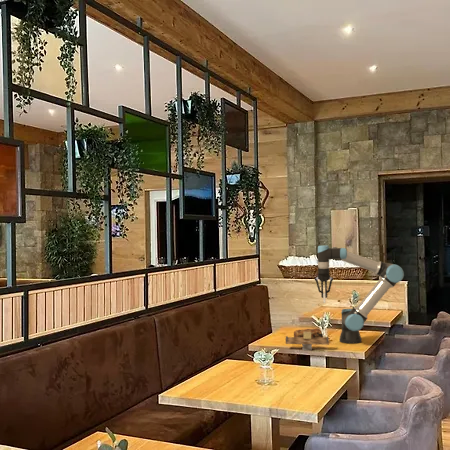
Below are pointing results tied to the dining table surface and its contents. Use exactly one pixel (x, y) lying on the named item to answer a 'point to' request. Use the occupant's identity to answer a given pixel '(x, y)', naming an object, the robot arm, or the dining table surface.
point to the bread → (314, 332)
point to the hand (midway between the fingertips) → (324, 302)
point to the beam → (307, 342)
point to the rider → (307, 335)
